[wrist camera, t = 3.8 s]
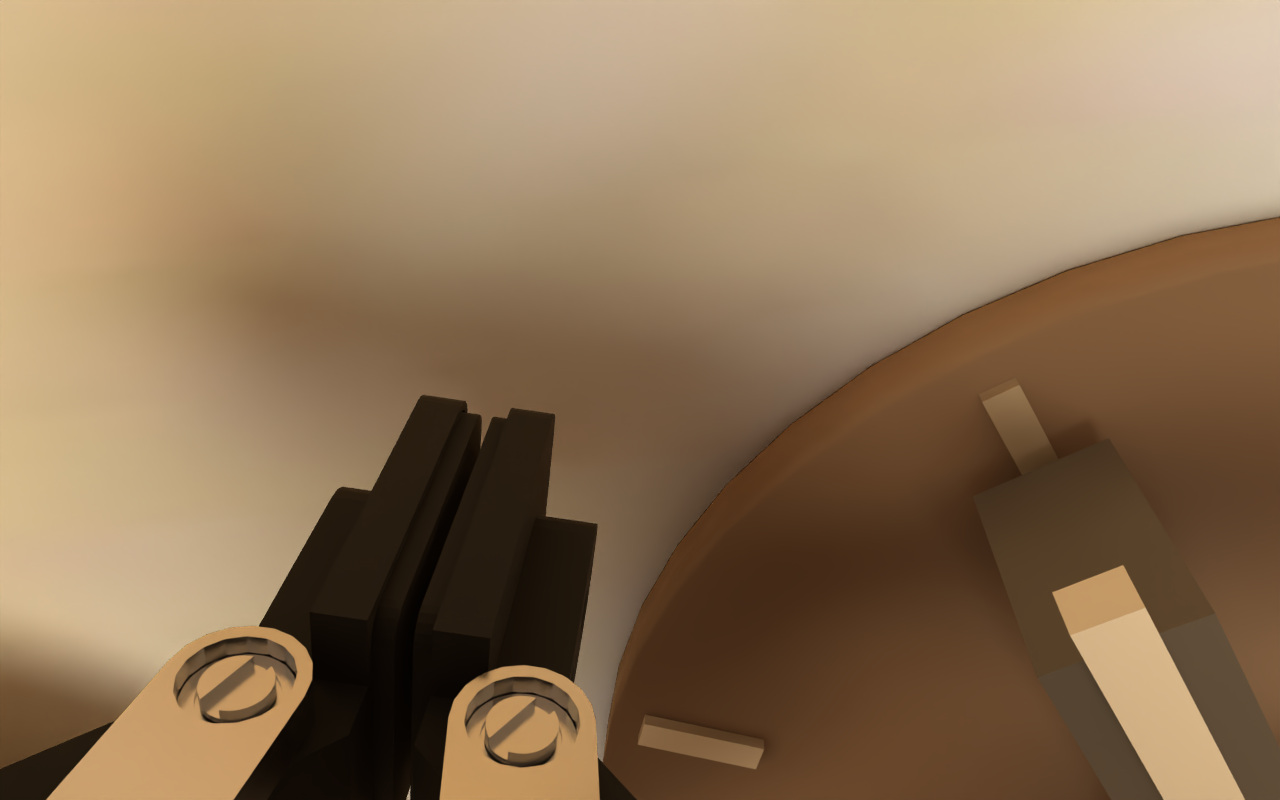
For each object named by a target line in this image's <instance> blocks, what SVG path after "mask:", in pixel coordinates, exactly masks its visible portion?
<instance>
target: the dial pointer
mask: <svg viewBox="0 0 1280 800" xmlns="http://www.w3.org/2000/svg"><path fill="white" fill-rule="evenodd" d="M973 499H974V501H975V504H976V507H977V510H978V513H979V515H980V518H981V521H982V524H983V527H984V529H985V532H986V535H987V538H988V541H989V543H990V546H991V549H992V552H993V555H994V557H995V560H996V563H997V566H998V569H999V571H1000V574H1001V577H1002V580H1003V583H1004V585H1005V588H1006V591H1007V594H1008V597H1009V599H1010V602H1011V605H1012V608H1013V611H1014V613H1015V616H1016V619H1017V622H1018V625H1019V627H1020V630H1021V633H1022V636H1023V639H1024V641H1025V644H1026V647H1027V650H1028V653H1029V655H1030V658H1031V661H1032V664H1033V667H1034V669H1035V672H1036V675H1037V678H1038V679H1039V681H1040V682H1041V684H1042V686H1043V687H1044V689H1045V691H1046V692H1047V694H1048V696H1049V697H1050V699H1051V701H1052V702H1053V704H1054V706H1055V707H1056V709H1057V711H1058V712H1059V714H1060V716H1061V717H1062V719H1063V721H1064V722H1065V724H1066V726H1067V727H1068V729H1069V730H1070V732H1071V734H1072V735H1073V737H1074V739H1075V740H1076V742H1077V744H1078V745H1079V747H1080V749H1081V750H1082V752H1083V754H1084V755H1085V757H1086V759H1087V760H1088V762H1089V764H1090V765H1091V767H1092V769H1093V770H1094V772H1095V773H1096V775H1097V777H1098V778H1099V780H1100V782H1101V783H1102V785H1103V787H1104V788H1105V790H1106V792H1107V793H1108V795H1109V797H1110V798H1111V800H1280V747H1279V745H1278V743H1277V741H1276V739H1275V737H1274V735H1273V733H1272V731H1271V729H1270V726H1269V724H1268V722H1267V720H1266V718H1265V716H1264V714H1263V712H1262V710H1261V708H1260V706H1259V703H1258V701H1257V699H1256V697H1255V695H1254V693H1253V691H1252V689H1251V687H1250V685H1249V683H1248V681H1247V678H1246V676H1245V674H1244V672H1243V670H1242V668H1241V666H1240V664H1239V662H1238V660H1237V658H1236V655H1235V653H1234V651H1233V649H1232V647H1231V645H1230V643H1229V641H1228V639H1227V637H1226V635H1225V633H1224V630H1223V628H1222V626H1221V624H1220V622H1219V620H1218V618H1217V616H1216V614H1215V612H1214V610H1213V609H1212V607H1211V605H1210V604H1209V602H1208V600H1207V599H1206V597H1205V596H1204V594H1203V592H1202V591H1201V589H1200V587H1199V586H1198V584H1197V582H1196V581H1195V579H1194V577H1193V576H1192V574H1191V572H1190V571H1189V569H1188V567H1187V566H1186V564H1185V563H1184V561H1183V559H1182V558H1181V556H1180V554H1179V553H1178V551H1177V549H1176V548H1175V546H1174V544H1173V543H1172V541H1171V539H1170V538H1169V536H1168V534H1167V533H1166V531H1165V530H1164V528H1163V526H1162V525H1161V523H1160V521H1159V520H1158V518H1157V516H1156V515H1155V513H1154V511H1153V510H1152V508H1151V506H1150V505H1149V503H1148V501H1147V500H1146V498H1145V497H1144V495H1143V493H1142V492H1141V490H1140V488H1139V487H1138V485H1137V483H1136V482H1135V480H1134V478H1133V477H1132V475H1131V473H1130V472H1129V470H1128V468H1127V467H1126V465H1125V464H1124V462H1123V460H1122V459H1121V457H1120V455H1119V454H1118V452H1117V450H1116V449H1115V447H1114V445H1113V444H1112V442H1111V440H1110V439H1109V438H1108V439H1105V440H1103V441H1101V442H1098V443H1096V444H1094V445H1091V446H1089V447H1087V448H1084V449H1082V450H1080V451H1077V452H1075V453H1073V454H1070V455H1068V456H1066V457H1063V458H1061V459H1059V460H1056V461H1054V462H1052V463H1049V464H1047V465H1045V466H1042V467H1040V468H1038V469H1035V470H1033V471H1031V472H1028V473H1026V474H1024V475H1021V476H1019V477H1017V478H1014V479H1012V480H1010V481H1007V482H1005V483H1003V484H1000V485H998V486H996V487H993V488H991V489H989V490H986V491H984V492H982V493H979V494H977V495H975V496H973Z"/></svg>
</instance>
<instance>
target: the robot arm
mask: <svg viewBox="0 0 1280 800" xmlns="http://www.w3.org/2000/svg"><path fill="white" fill-rule="evenodd" d="M481 424H482V420H481V415H478V414H471V413H467V403H466V401H461V400H454V399H447V398H440V397H433V396H426V395H422V396H421V397H420V398H419V400H418V402H417V404H416V406H415V407H414V409H413V411H412V413H411V415H410V417H409V419H408V421H407V423H406V425H405V427H404V429H403V431H402V433H401V435H400V437H399V439H398V441H397V442H396V444H395V446H394V448H393V450H392V452H391V454H390V456H389V458H388V460H387V462H386V464H385V466H384V468H383V470H382V472H381V474H380V476H379V478H378V479H377V481H376V483H375V485H374V487H373V489H372V491H368V490H361V489H354V488H347V487H341V488H339V489H337V491H336V492H335V494H334V495H333V496H332V498H331V500H330V501H329V503H328V505H327V507H326V508H325V510H324V512H323V514H322V516H321V517H320V519H319V521H318V523H317V524H316V526H315V528H314V530H313V531H312V533H311V535H310V537H309V538H308V540H307V542H306V544H305V546H304V547H303V549H302V551H301V553H300V554H299V556H298V558H297V560H296V561H295V563H294V565H293V567H292V568H291V570H290V572H289V574H288V576H287V577H286V579H285V581H284V583H283V584H282V586H281V588H280V590H279V591H278V593H277V595H276V597H275V598H274V600H273V602H272V604H271V606H270V607H269V609H268V611H267V613H266V614H265V616H264V618H263V620H262V621H261V623H260V625H259V627H258V626H244V627H232V628H227V629H223V630H220V631H216V632H213V633H209V634H206V635H205V636H203V637H201V638H199V639H197V640H195V641H193V642H191V643H189V644H187V645H186V646H185V647H183V648H182V649H181V650H180V651H179V652H178V653H176V654H175V655H174V656H173V657H172V658H171V659H170V660H169V661H168V662H167V663H166V664H165V665H164V666H163V667H162V669H161V670H160V671H159V672H158V673H157V674H156V675H155V677H154V678H153V679H152V680H151V681H150V682H149V683H148V685H147V686H146V687H145V688H144V689H143V690H142V691H141V692H140V694H139V695H138V696H137V697H136V698H135V699H134V700H133V702H132V703H131V704H130V705H129V706H128V707H127V708H126V710H125V711H124V712H123V713H122V714H121V715H120V716H119V717H118V719H117V720H116V721H114V722H112V723H109V724H107V725H104V726H102V727H100V728H97V729H95V730H92V731H90V732H88V733H85V734H83V735H81V736H78V737H76V738H73V739H71V740H69V741H66V742H64V743H62V744H59V745H57V746H54V747H52V748H50V749H47V750H45V751H42V752H40V753H38V754H35V755H33V756H31V757H28V758H26V759H23V760H21V761H19V762H16V763H14V764H11V765H9V766H7V767H4V768H2V769H0V800H406V798H407V795H408V792H409V789H410V800H637V799H636V798H635V797H634V796H633V795H632V794H631V793H630V792H629V791H628V790H627V788H626V787H625V786H624V785H623V784H622V783H621V782H620V781H619V780H618V779H617V778H616V777H615V776H614V774H613V773H612V772H611V771H610V770H609V769H608V768H607V767H606V766H605V765H604V764H603V763H602V762H601V760H600V759H599V758H598V755H597V735H596V720H595V716H594V712H593V708H592V704H591V703H590V701H589V700H588V698H587V697H586V695H585V694H584V693H583V691H582V690H581V688H579V687H578V686H577V685H575V684H574V679H575V674H576V668H577V662H578V656H579V650H580V644H581V639H582V633H583V626H584V620H585V614H586V607H587V601H588V594H589V587H590V580H591V573H592V565H593V558H594V550H595V543H596V535H597V524H594V523H587V522H580V521H573V520H566V519H559V518H553V517H546V506H547V496H548V486H549V476H550V466H551V456H552V446H553V436H554V425H555V415H554V414H549V413H543V412H536V411H529V410H522V409H515V408H512V409H511V410H510V413H509V415H508V418H507V419H505V418H498V417H493V418H492V420H491V423H490V425H489V428H488V431H487V433H486V436H485V439H484V441H483V444H482V446H481V449H480V444H481ZM410 785H411V787H410Z"/></svg>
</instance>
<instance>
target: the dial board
mask: <svg viewBox="0 0 1280 800" xmlns="http://www.w3.org/2000/svg"><path fill="white" fill-rule="evenodd" d="M1108 438H1109V439H1110V440H1111V442H1112V444H1113V445H1114V447H1115V449H1116V450H1117V452H1118V454H1119V455H1120V457H1121V459H1122V460H1123V462H1124V464H1125V465H1126V467H1127V468H1128V470H1129V472H1130V473H1131V475H1132V477H1133V478H1134V480H1135V482H1136V483H1137V485H1138V487H1139V488H1140V490H1141V492H1142V493H1143V495H1144V497H1145V498H1146V500H1147V501H1148V503H1149V505H1150V506H1151V508H1152V510H1153V511H1154V513H1155V515H1156V516H1157V518H1158V520H1159V521H1160V523H1161V525H1162V526H1163V528H1164V530H1165V531H1166V533H1167V534H1168V536H1169V538H1170V539H1171V541H1172V543H1173V544H1174V546H1175V548H1176V549H1177V551H1178V553H1179V554H1180V556H1181V558H1182V559H1183V561H1184V563H1185V564H1186V566H1187V567H1188V569H1189V571H1190V572H1191V574H1192V576H1193V577H1194V579H1195V581H1196V582H1197V584H1198V586H1199V587H1200V589H1201V591H1202V592H1203V594H1204V596H1205V597H1206V599H1207V600H1208V602H1209V604H1210V605H1211V607H1212V609H1213V610H1214V612H1215V614H1216V616H1217V618H1218V620H1219V622H1220V624H1221V626H1222V628H1223V630H1224V633H1225V635H1226V637H1227V639H1228V641H1229V643H1230V645H1231V647H1232V649H1233V651H1234V653H1235V655H1236V658H1237V660H1238V662H1239V664H1240V666H1241V668H1242V670H1243V672H1244V674H1245V676H1246V678H1247V681H1248V683H1249V685H1250V687H1251V689H1252V691H1253V693H1254V695H1255V697H1256V699H1257V701H1258V703H1259V706H1260V708H1261V710H1262V712H1263V714H1264V716H1265V718H1266V720H1267V722H1268V724H1269V726H1270V729H1271V731H1272V733H1273V735H1274V737H1275V739H1276V741H1277V743H1278V745H1279V747H1280V218H1275V219H1269V220H1264V221H1259V222H1254V223H1248V224H1243V225H1238V226H1233V227H1227V228H1222V229H1217V230H1212V231H1206V232H1201V233H1196V234H1191V235H1185V236H1181V237H1177V238H1174V239H1171V240H1167V241H1164V242H1161V243H1157V244H1154V245H1151V246H1148V247H1144V248H1141V249H1138V250H1134V251H1131V252H1128V253H1125V254H1121V255H1118V256H1115V257H1111V258H1108V259H1105V260H1101V261H1098V262H1095V263H1092V264H1088V265H1085V266H1082V267H1078V268H1075V269H1072V270H1069V271H1066V272H1063V273H1061V274H1059V275H1056V276H1054V277H1052V278H1049V279H1047V280H1045V281H1042V282H1040V283H1038V284H1035V285H1033V286H1030V287H1028V288H1026V289H1023V290H1021V291H1019V292H1016V293H1014V294H1012V295H1009V296H1007V297H1005V298H1002V299H1000V300H998V301H995V302H993V303H990V304H988V305H986V306H983V307H981V308H979V309H976V310H974V311H972V312H969V313H967V314H965V315H962V316H960V317H959V318H957V319H955V320H953V321H952V322H950V323H948V324H946V325H944V326H943V327H941V328H939V329H937V330H936V331H934V332H932V333H930V334H928V335H927V336H925V337H923V338H921V339H919V340H918V341H916V342H914V343H912V344H911V345H909V346H907V347H905V348H903V349H902V350H900V351H898V352H896V353H895V354H893V355H891V356H889V357H887V358H886V359H884V360H882V361H880V362H879V363H877V364H875V365H873V366H871V367H870V368H868V369H867V370H866V371H864V372H863V373H861V374H860V375H859V376H857V377H856V378H855V379H853V380H852V381H850V382H849V383H848V384H846V385H845V386H844V387H842V388H841V389H839V390H838V391H837V392H835V393H834V394H832V395H831V396H830V397H828V398H827V399H826V400H824V401H823V402H821V403H820V404H819V405H817V406H816V407H815V408H813V409H812V410H810V411H809V412H808V413H806V414H805V415H804V416H802V417H801V418H799V419H798V420H797V421H795V422H794V423H793V424H791V425H790V426H789V427H788V428H787V429H786V430H785V431H784V432H783V433H782V434H780V435H779V436H778V437H777V438H776V439H775V440H774V441H773V442H772V443H771V444H770V445H769V446H768V447H767V448H766V449H764V450H763V451H762V452H761V453H760V454H759V455H758V456H757V457H756V458H755V459H754V460H753V461H752V462H751V463H750V464H748V465H747V466H746V467H745V468H744V469H743V470H742V471H741V472H740V473H739V474H738V475H737V476H736V477H735V478H734V479H732V480H731V481H730V482H729V483H728V484H727V485H726V486H725V488H724V489H723V490H722V491H721V493H720V494H719V495H718V496H717V498H716V499H715V500H714V501H713V503H712V504H711V505H710V506H709V507H708V509H707V510H706V511H705V512H704V514H703V515H702V516H701V517H700V519H699V520H698V521H697V522H696V523H695V525H694V526H693V527H692V528H691V530H690V531H689V532H688V533H687V535H686V536H685V537H684V538H683V539H682V541H681V542H680V543H679V544H678V546H677V547H676V549H675V551H674V552H673V554H672V556H671V558H670V559H669V561H668V563H667V564H666V566H665V568H664V569H663V571H662V573H661V575H660V576H659V578H658V580H657V581H656V583H655V585H654V586H653V588H652V590H651V592H650V593H649V595H648V597H647V598H646V600H645V602H644V603H643V605H642V607H641V610H640V612H639V615H638V617H637V620H636V623H635V625H634V628H633V630H632V633H631V636H630V638H629V641H628V643H627V646H626V649H625V651H624V654H623V656H622V659H621V662H620V664H619V668H618V673H617V679H616V684H615V689H614V694H613V699H612V705H611V710H610V715H609V720H608V727H607V735H606V743H605V750H604V758H603V764H604V765H605V766H606V767H607V768H608V769H609V770H610V771H611V772H612V773H613V774H614V776H615V777H616V778H617V779H618V780H619V781H620V782H621V783H622V784H623V785H624V786H625V787H626V788H627V790H628V791H629V792H630V793H631V794H632V795H633V796H634V797H635V798H636V799H637V800H1111V798H1110V797H1109V795H1108V793H1107V792H1106V790H1105V788H1104V787H1103V785H1102V783H1101V782H1100V780H1099V778H1098V777H1097V775H1096V773H1095V772H1094V770H1093V769H1092V767H1091V765H1090V764H1089V762H1088V760H1087V759H1086V757H1085V755H1084V754H1083V752H1082V750H1081V749H1080V747H1079V745H1078V744H1077V742H1076V740H1075V739H1074V737H1073V735H1072V734H1071V732H1070V730H1069V729H1068V727H1067V726H1066V724H1065V722H1064V721H1063V719H1062V717H1061V716H1060V714H1059V712H1058V711H1057V709H1056V707H1055V706H1054V704H1053V702H1052V701H1051V699H1050V697H1049V696H1048V694H1047V692H1046V691H1045V689H1044V687H1043V686H1042V684H1041V682H1040V681H1039V679H1038V678H1037V675H1036V672H1035V669H1034V667H1033V664H1032V661H1031V658H1030V655H1029V653H1028V650H1027V647H1026V644H1025V641H1024V639H1023V636H1022V633H1021V630H1020V627H1019V625H1018V622H1017V619H1016V616H1015V613H1014V611H1013V608H1012V605H1011V602H1010V599H1009V597H1008V594H1007V591H1006V588H1005V585H1004V583H1003V580H1002V577H1001V574H1000V571H999V569H998V566H997V563H996V560H995V557H994V555H993V552H992V549H991V546H990V543H989V541H988V538H987V535H986V532H985V529H984V527H983V524H982V521H981V518H980V515H979V513H978V510H977V507H976V504H975V501H974V499H973V496H975V495H977V494H979V493H982V492H984V491H986V490H989V489H991V488H993V487H996V486H998V485H1000V484H1003V483H1005V482H1007V481H1010V480H1012V479H1014V478H1017V477H1019V476H1021V475H1024V474H1026V473H1028V472H1031V471H1033V470H1035V469H1038V468H1040V467H1042V466H1045V465H1047V464H1049V463H1052V462H1054V461H1056V460H1059V459H1061V458H1063V457H1066V456H1068V455H1070V454H1073V453H1075V452H1077V451H1080V450H1082V449H1084V448H1087V447H1089V446H1091V445H1094V444H1096V443H1098V442H1101V441H1103V440H1105V439H1108Z"/></svg>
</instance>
